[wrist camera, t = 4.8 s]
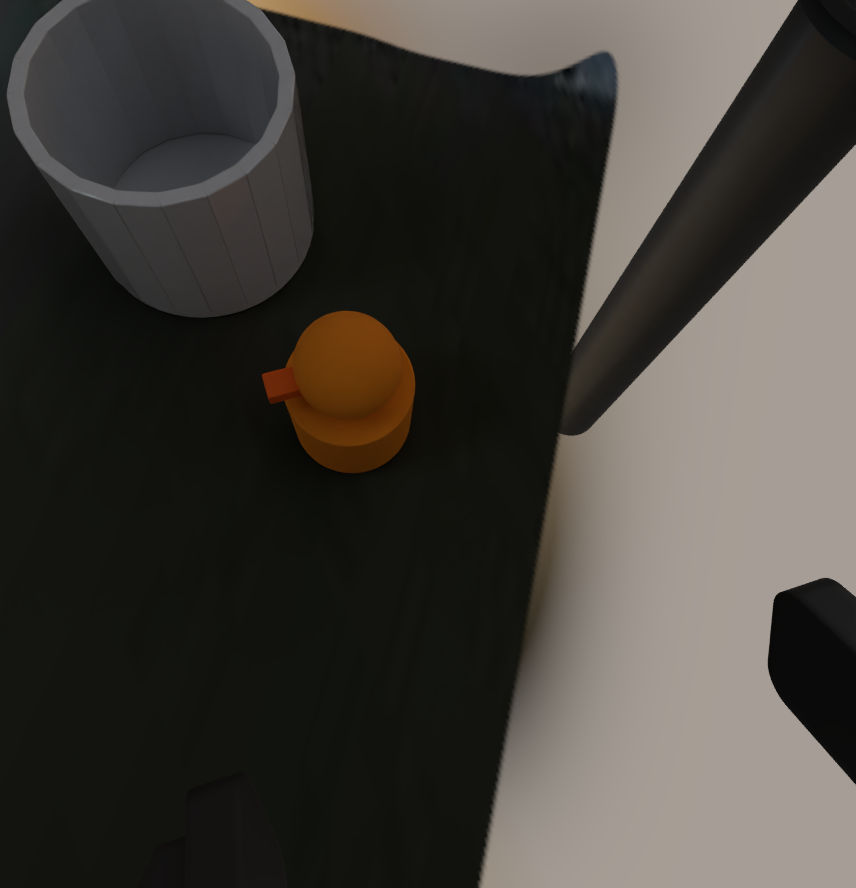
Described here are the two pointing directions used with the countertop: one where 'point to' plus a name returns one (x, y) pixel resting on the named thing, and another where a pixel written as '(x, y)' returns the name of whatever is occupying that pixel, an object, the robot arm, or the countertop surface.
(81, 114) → the pot
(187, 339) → the countertop surface
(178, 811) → the countertop surface
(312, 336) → the duck
